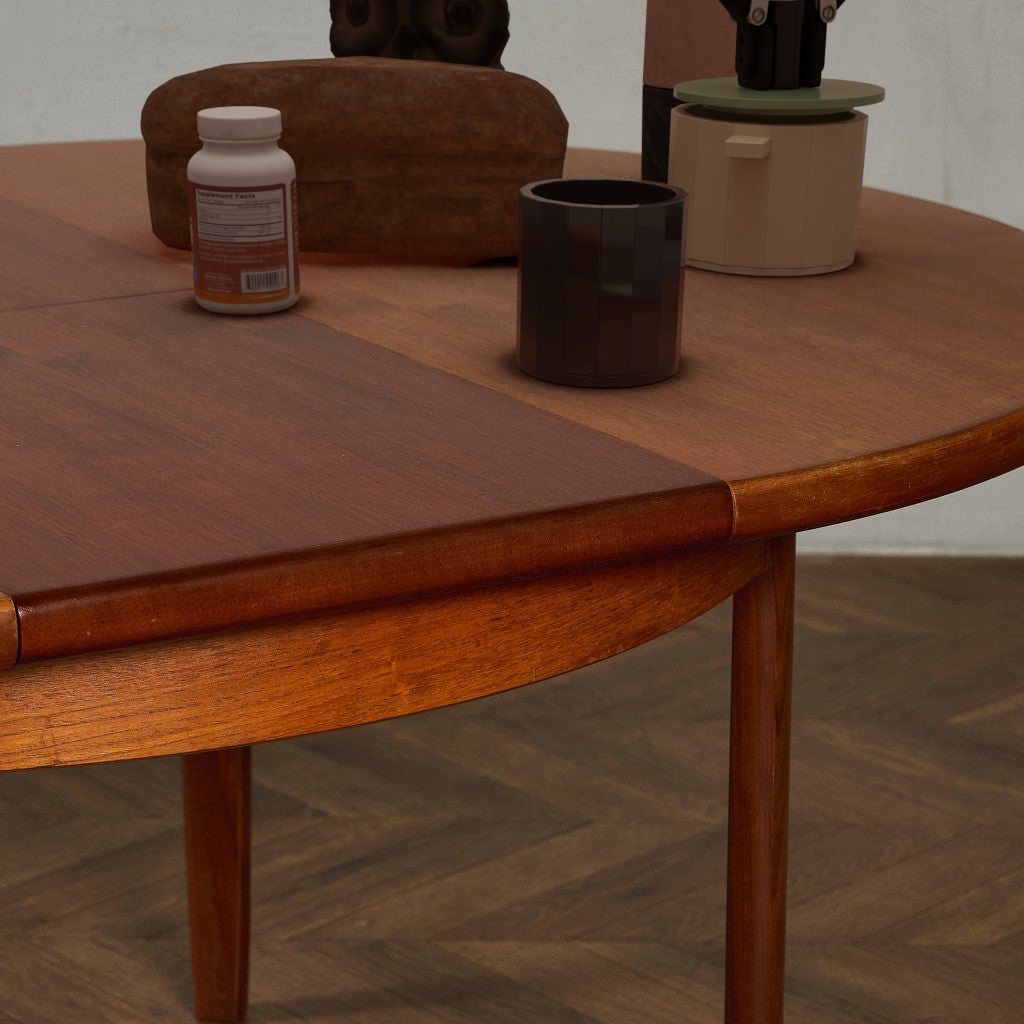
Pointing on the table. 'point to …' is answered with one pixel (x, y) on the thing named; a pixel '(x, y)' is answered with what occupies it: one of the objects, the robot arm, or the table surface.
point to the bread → (373, 150)
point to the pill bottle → (243, 213)
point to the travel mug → (679, 67)
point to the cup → (600, 280)
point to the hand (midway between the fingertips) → (778, 83)
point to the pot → (769, 189)
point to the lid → (782, 78)
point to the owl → (421, 30)
